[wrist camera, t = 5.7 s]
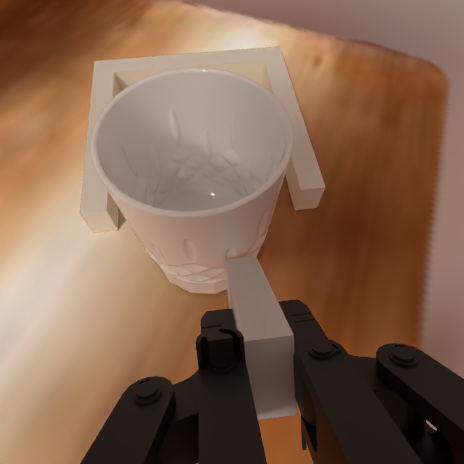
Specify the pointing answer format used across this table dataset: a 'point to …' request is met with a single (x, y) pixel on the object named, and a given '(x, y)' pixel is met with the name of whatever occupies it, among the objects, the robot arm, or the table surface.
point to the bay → (237, 61)
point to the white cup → (194, 168)
